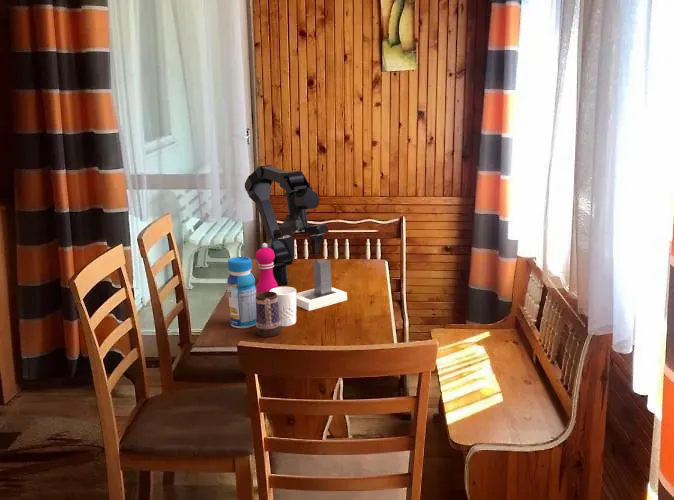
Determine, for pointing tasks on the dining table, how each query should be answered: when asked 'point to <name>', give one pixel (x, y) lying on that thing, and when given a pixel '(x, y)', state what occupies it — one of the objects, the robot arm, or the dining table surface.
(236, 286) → the beverage bottle
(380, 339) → the dining table surface
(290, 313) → the white cup
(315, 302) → the block
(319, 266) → the grey block
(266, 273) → the pepper mill
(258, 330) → the mug
